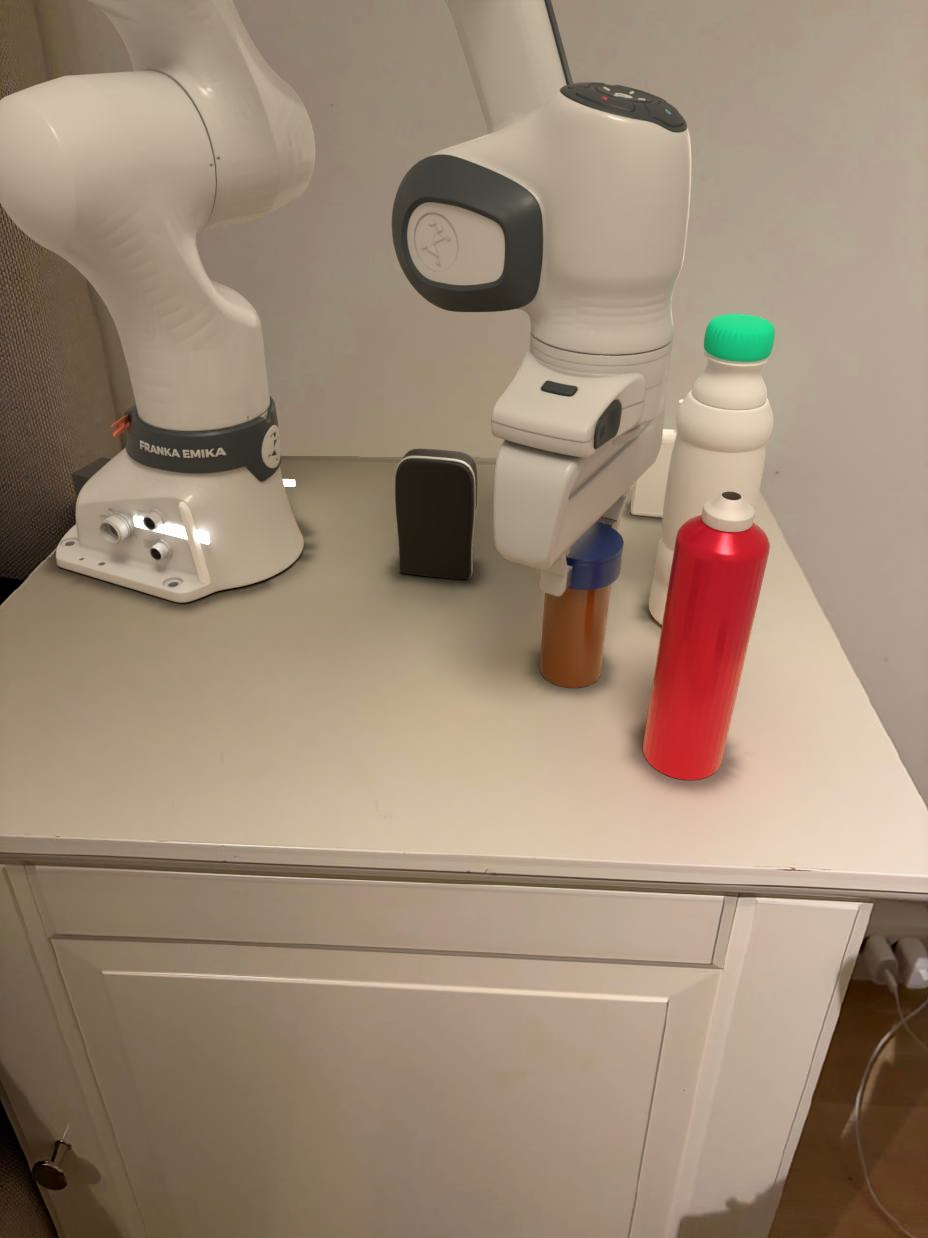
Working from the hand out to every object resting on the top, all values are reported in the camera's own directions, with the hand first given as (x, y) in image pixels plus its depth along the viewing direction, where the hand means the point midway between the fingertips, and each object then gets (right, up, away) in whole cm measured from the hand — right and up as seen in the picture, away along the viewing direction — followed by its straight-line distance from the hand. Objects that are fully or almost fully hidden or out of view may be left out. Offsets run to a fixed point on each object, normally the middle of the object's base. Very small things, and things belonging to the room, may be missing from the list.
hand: (580, 563), depth 67 cm
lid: (0, +1, -1) cm, 2 cm away
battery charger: (-11, 0, +18) cm, 21 cm away
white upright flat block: (+13, +6, +27) cm, 30 cm away
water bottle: (+11, -4, +12) cm, 17 cm away
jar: (0, -8, +6) cm, 10 cm away
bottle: (+7, -14, -2) cm, 15 cm away
